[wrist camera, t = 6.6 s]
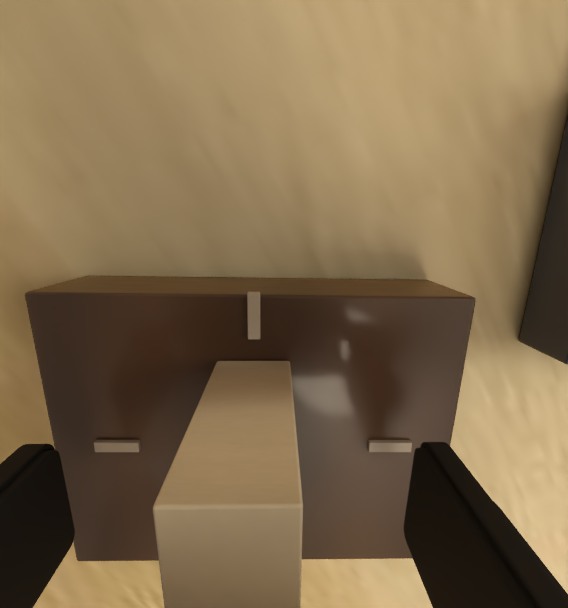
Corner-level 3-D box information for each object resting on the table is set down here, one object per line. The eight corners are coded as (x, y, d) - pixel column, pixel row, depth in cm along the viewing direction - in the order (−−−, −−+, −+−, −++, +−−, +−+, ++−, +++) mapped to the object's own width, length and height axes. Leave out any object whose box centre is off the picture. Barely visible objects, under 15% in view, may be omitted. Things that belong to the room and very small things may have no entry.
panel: (117, 494, 14) (74, 569, 11) (86, 272, 12) (17, 289, 9) (400, 493, 14) (432, 566, 11) (429, 277, 12) (481, 295, 9)
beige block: (217, 360, 9) (143, 523, 4) (290, 359, 9) (305, 521, 4) (224, 519, 11) (178, 781, 6) (287, 518, 11) (297, 777, 6)
